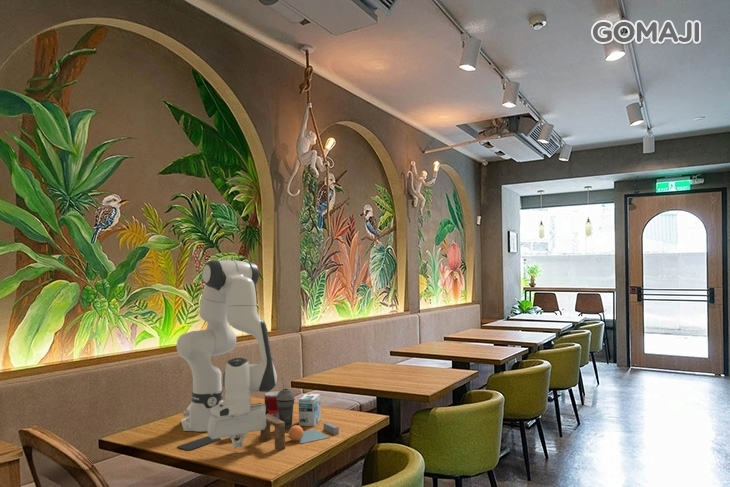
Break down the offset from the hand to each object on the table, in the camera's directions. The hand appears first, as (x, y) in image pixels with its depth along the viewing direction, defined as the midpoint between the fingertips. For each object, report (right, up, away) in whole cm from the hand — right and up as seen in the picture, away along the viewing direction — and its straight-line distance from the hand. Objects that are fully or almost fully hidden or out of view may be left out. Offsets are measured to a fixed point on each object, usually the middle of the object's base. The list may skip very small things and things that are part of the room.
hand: (237, 446), depth 183 cm
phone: (-16, -3, +9) cm, 19 cm away
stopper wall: (+31, -2, +21) cm, 38 cm away
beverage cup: (+13, -3, +26) cm, 29 cm away
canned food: (+6, -4, +39) cm, 40 cm away
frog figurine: (-4, -3, +15) cm, 16 cm away
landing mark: (+23, -2, +15) cm, 28 cm away
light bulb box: (+22, -3, +34) cm, 40 cm away
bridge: (+11, -2, +7) cm, 13 cm away
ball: (+19, +1, +11) cm, 22 cm away
